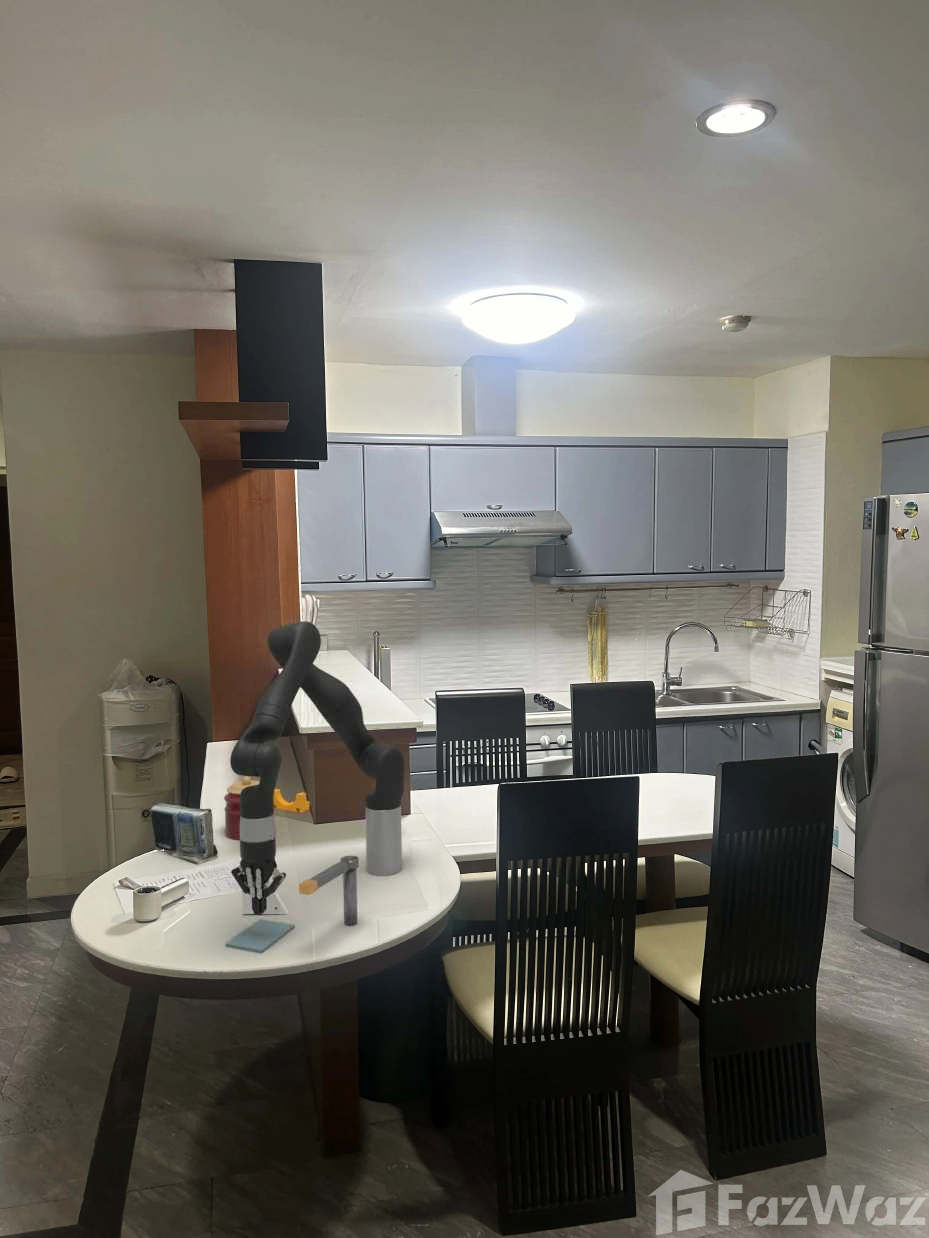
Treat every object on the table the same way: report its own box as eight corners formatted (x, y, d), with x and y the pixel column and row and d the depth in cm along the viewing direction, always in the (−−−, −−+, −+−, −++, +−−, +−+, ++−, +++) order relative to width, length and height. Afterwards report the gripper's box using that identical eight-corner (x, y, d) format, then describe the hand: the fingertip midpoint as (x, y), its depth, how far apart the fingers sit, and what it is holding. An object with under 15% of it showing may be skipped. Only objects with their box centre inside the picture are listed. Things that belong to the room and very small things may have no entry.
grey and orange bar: (347, 862, 200) (346, 854, 199) (362, 865, 198) (361, 856, 198) (296, 892, 183) (295, 883, 182) (312, 895, 181) (311, 886, 181)
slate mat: (260, 922, 199) (260, 919, 199) (294, 928, 196) (294, 924, 196) (225, 947, 187) (225, 943, 187) (261, 953, 184) (261, 950, 183)
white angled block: (253, 932, 203) (286, 914, 203) (231, 895, 202) (264, 877, 202) (256, 925, 206) (289, 907, 206) (235, 889, 205) (267, 871, 205)
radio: (148, 850, 247) (146, 799, 246) (175, 842, 253) (173, 793, 252) (192, 869, 232) (190, 815, 231) (219, 860, 238) (218, 808, 237)
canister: (277, 829, 264) (275, 771, 263) (260, 843, 252) (258, 783, 250) (236, 827, 267) (235, 769, 265) (217, 841, 254) (215, 781, 252)
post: (347, 919, 200) (346, 864, 199) (359, 921, 199) (358, 866, 198) (341, 924, 197) (340, 869, 196) (353, 926, 196) (352, 870, 195)
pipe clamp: (309, 811, 282) (309, 791, 282) (301, 815, 279) (301, 795, 278) (279, 806, 288) (278, 787, 287) (270, 810, 284) (270, 790, 283)
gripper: (221, 836, 188) (223, 915, 190) (274, 843, 183) (276, 924, 185) (241, 826, 195) (243, 902, 197) (293, 833, 190) (295, 910, 192)
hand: (259, 912), depth 191 cm, fingers closed
